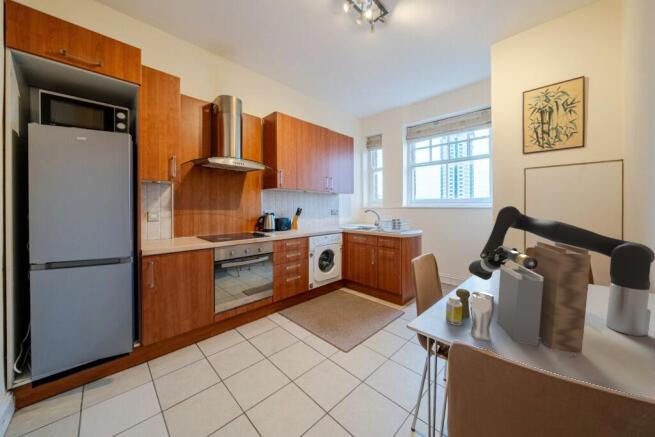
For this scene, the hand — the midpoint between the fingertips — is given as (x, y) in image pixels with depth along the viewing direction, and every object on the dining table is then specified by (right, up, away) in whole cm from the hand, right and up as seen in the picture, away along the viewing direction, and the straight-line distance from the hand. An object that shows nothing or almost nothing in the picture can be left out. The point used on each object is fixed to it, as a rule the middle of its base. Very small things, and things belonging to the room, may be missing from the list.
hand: (508, 249), depth 96 cm
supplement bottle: (-22, -29, 0) cm, 37 cm away
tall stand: (+7, -30, -11) cm, 33 cm away
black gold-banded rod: (-1, -4, -5) cm, 6 cm away
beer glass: (-17, -30, -9) cm, 36 cm away
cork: (-15, -29, +7) cm, 33 cm away
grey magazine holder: (-3, -30, -7) cm, 31 cm away
